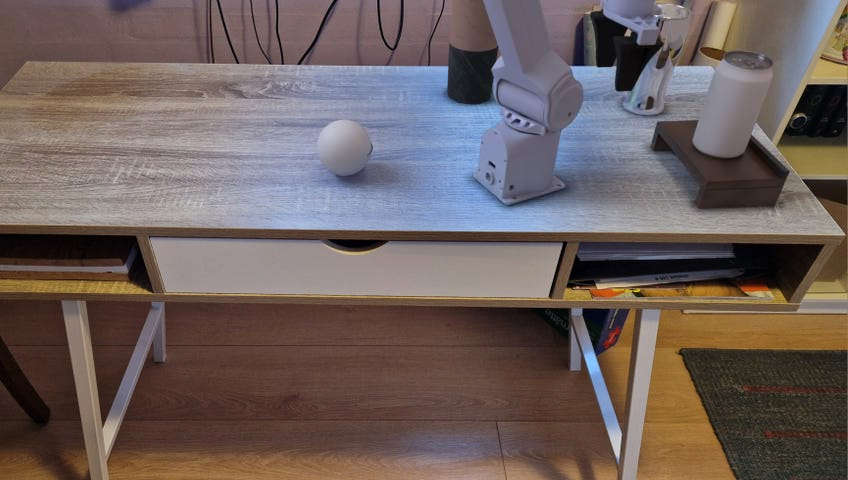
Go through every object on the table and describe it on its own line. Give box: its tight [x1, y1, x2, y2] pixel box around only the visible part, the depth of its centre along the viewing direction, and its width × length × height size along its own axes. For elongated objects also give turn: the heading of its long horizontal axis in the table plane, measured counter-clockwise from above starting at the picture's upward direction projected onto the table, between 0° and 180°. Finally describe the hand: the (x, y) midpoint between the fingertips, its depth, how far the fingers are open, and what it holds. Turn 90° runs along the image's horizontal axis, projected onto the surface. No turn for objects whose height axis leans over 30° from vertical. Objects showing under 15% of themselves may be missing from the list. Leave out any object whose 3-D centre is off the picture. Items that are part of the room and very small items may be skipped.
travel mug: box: [446, 0, 499, 105], centre depth 108 cm, size 8×8×20 cm
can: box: [693, 49, 775, 159], centre depth 88 cm, size 6×6×12 cm
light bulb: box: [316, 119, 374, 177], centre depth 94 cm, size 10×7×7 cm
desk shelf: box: [650, 119, 791, 210], centre depth 93 cm, size 10×16×5 cm, turn 4°
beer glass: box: [622, 2, 693, 116], centre depth 106 cm, size 7×7×15 cm
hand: (613, 78), depth 94 cm, fingers open, 7 cm apart
